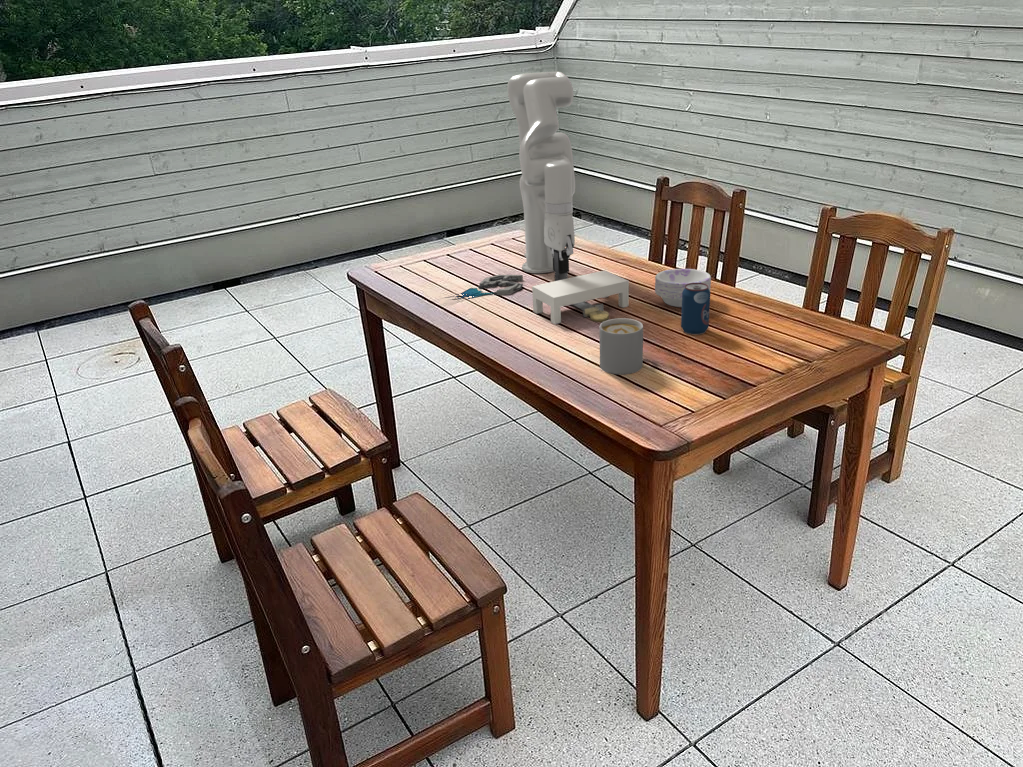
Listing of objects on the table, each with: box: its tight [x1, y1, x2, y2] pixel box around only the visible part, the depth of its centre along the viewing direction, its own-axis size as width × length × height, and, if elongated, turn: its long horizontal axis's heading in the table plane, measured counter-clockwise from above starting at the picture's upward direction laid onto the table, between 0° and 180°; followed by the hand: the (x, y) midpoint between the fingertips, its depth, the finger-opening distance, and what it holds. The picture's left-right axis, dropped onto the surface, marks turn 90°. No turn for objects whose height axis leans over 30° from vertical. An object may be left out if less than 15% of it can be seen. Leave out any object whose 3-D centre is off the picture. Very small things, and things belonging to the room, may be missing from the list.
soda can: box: [680, 283, 711, 336], centre depth 195 cm, size 7×7×12 cm
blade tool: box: [553, 251, 604, 318], centre depth 216 cm, size 19×6×14 cm, turn 27°
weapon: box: [457, 274, 524, 300], centre depth 236 cm, size 34×2×15 cm
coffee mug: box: [598, 317, 644, 375], centre depth 180 cm, size 13×10×10 cm
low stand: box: [531, 270, 630, 325], centre depth 216 cm, size 12×24×8 cm, turn 117°
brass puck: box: [589, 310, 610, 323], centre depth 210 cm, size 5×5×2 cm
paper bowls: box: [654, 268, 712, 308], centre depth 216 cm, size 15×15×8 cm
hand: (561, 271), depth 222 cm, fingers closed on blade tool
